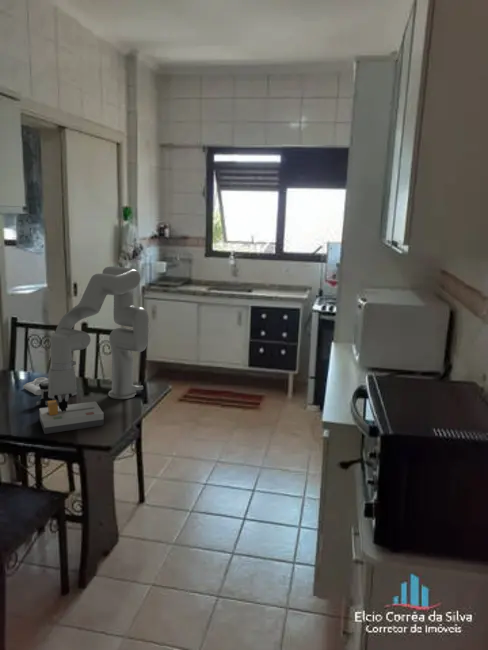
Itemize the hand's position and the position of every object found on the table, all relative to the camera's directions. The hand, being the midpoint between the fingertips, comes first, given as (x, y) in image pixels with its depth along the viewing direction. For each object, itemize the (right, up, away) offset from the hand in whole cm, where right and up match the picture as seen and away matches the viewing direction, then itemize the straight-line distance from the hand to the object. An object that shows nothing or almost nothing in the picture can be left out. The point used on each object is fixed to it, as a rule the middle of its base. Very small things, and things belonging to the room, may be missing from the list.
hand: (63, 410), depth 198 cm
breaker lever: (-4, -3, -1) cm, 5 cm away
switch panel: (+2, -5, +4) cm, 7 cm away
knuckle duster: (-23, +3, +38) cm, 45 cm away
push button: (-15, -1, +20) cm, 25 cm away
